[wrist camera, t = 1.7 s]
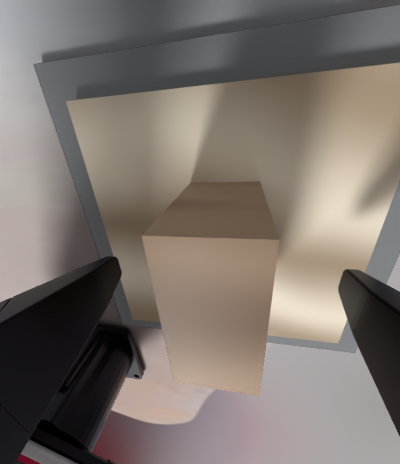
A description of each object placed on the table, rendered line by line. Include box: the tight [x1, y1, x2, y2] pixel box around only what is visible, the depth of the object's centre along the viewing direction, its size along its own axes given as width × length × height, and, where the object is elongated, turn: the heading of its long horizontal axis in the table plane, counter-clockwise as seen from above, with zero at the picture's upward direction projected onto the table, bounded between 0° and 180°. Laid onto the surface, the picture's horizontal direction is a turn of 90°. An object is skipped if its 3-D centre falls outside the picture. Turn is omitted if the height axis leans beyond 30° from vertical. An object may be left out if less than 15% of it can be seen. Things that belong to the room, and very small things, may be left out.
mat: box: [33, 5, 400, 353], centre depth 11 cm, size 16×16×1 cm
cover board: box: [66, 63, 400, 396], centre depth 8 cm, size 13×13×6 cm
